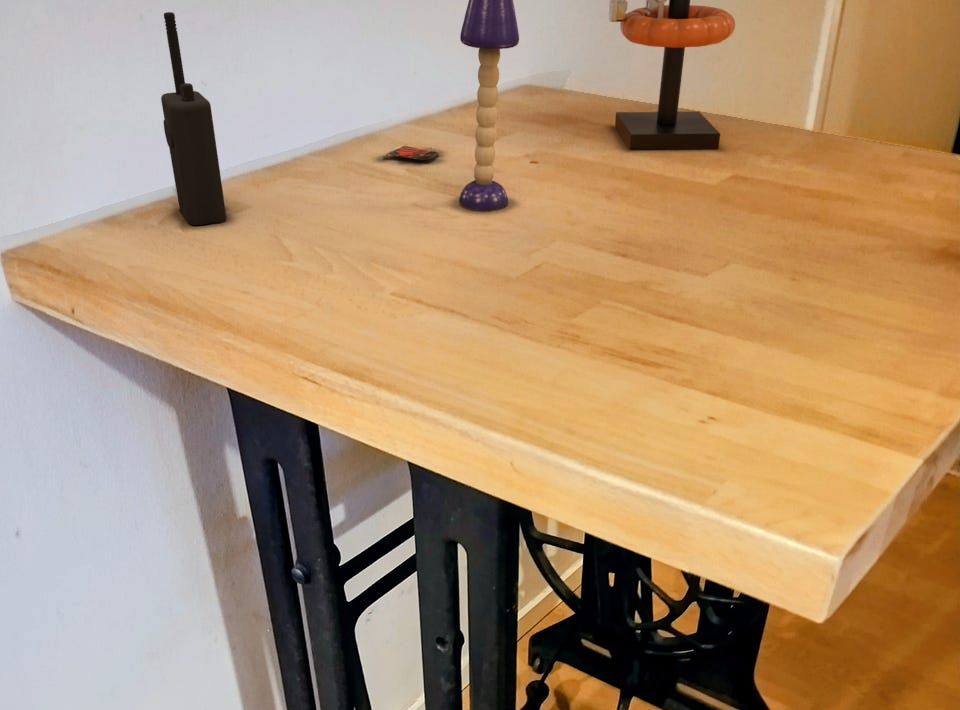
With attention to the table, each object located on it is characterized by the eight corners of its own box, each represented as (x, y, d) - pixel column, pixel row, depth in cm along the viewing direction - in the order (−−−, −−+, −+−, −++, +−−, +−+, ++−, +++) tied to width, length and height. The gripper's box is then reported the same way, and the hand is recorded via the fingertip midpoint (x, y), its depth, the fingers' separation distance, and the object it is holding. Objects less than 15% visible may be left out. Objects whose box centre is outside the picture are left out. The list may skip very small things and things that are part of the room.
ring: (716, 27, 105) (719, 1, 104) (744, 47, 96) (748, 18, 95) (612, 31, 105) (613, 5, 103) (631, 51, 96) (633, 23, 94)
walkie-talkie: (228, 221, 84) (200, 18, 75) (187, 227, 83) (153, 21, 74) (214, 204, 87) (185, 8, 78) (174, 210, 86) (140, 11, 77)
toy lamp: (516, 197, 90) (522, -19, 80) (512, 214, 86) (518, -10, 76) (462, 195, 90) (461, -20, 80) (456, 212, 86) (454, -12, 76)
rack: (697, 126, 110) (715, -17, 102) (718, 149, 103) (739, -3, 95) (614, 126, 109) (626, -17, 101) (629, 150, 102) (643, -3, 94)
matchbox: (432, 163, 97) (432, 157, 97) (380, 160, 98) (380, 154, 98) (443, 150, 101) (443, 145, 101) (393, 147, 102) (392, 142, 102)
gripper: (754, -153, 94) (731, 15, 102) (534, -154, 93) (528, 16, 101) (774, -150, 89) (748, 26, 97) (541, -151, 88) (535, 27, 96)
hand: (634, 21), depth 99 cm, fingers closed on ring, 2 cm apart
